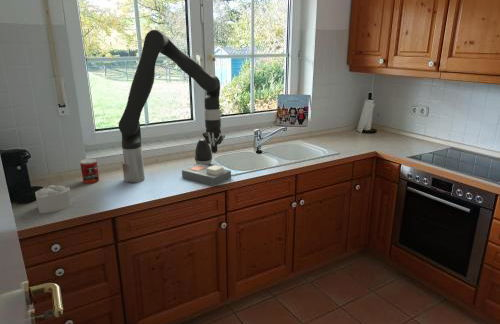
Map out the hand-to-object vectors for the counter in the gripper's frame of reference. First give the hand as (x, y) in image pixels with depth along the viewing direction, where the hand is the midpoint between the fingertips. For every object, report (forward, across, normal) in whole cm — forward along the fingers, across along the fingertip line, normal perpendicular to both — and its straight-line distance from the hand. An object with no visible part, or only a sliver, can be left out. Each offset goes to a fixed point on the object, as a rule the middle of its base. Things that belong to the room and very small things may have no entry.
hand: (214, 152), depth 182 cm
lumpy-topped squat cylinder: (+14, -37, -63) cm, 74 cm away
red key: (+14, -12, 0) cm, 18 cm away
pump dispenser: (+15, -22, +16) cm, 31 cm away
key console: (+14, -6, 0) cm, 16 cm away
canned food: (+14, -52, -36) cm, 65 cm away
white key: (+12, 0, 0) cm, 12 cm away
